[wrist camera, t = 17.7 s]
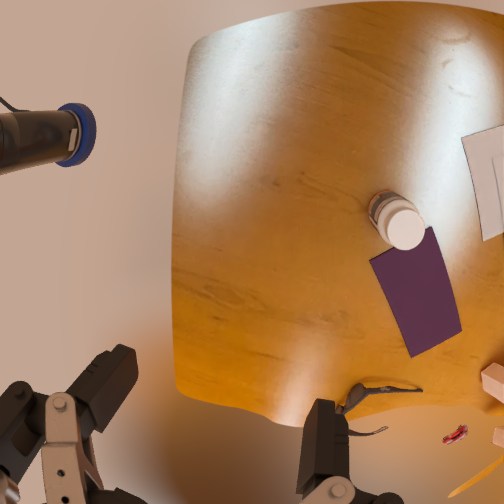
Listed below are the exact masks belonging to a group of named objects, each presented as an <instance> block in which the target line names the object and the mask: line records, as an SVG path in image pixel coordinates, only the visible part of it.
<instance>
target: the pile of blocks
mask: <svg viewBox="0 0 504 504" xmlns="http://www.w3.org/2000/svg"><path fill="white" fill-rule="evenodd" d="M481 375H482V383H483V390H484V391H486V392H487V393H489V394H490V395H492V396H493V397H495V398H496V399H498V400H499V401H501V402H502V403H504V367H503V366H501V365H499V364H497V363H495V362H494V363H492V364H491V365H490V366H488V367H487V368H486V369H485V370H483V371H482V372H481ZM492 443H493V444H495V445H498V446H500V447H503V448H504V426H501V427H495V430H494V435H493V439H492Z"/></svg>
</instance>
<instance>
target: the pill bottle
mask: <svg viewBox="0 0 504 504" xmlns="http://www.w3.org/2000/svg"><path fill="white" fill-rule="evenodd" d="M368 215H369V219H370V221H371V223H372V224H373V226H374V227H375V229H376V230H377V231H378V233H379V235H380V236H381V238H382V239H383V240H384V241H385V242H387V243H388V244H391V245H393V246H394V247H396V248H397V249H400V250H410V249H412V248H414V247H416V246H417V245H418V244H419V243H420V242H421V241H422V239H423V237H424V233H425V224H424V221H423V218H422V217H421V216H420V214H419V211H418V209H417V208H416V207H415V205H414V204H412V203H411V202H410V201H408V200H406V199H405V198H403V197H402V196H400V195H398V194H396V193H394V192H391V191H384V192H380V193H378V194H377V195H375V196H374V197H373V199H372V200H371V202H370V204H369V208H368Z"/></svg>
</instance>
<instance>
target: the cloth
mask: <svg viewBox="0 0 504 504" xmlns="http://www.w3.org/2000/svg"><path fill="white" fill-rule="evenodd" d="M369 261H370V263H371V265H372V267H373V270H374V272H375V274H376V276H377V278H378V280H379V282H380V284H381V287H382V289H383V291H384V293H385V296H386V298H387V300H388V302H389V305H390V307H391V309H392V312H393V314H394V316H395V319H396V321H397V323H398V326H399V328H400V331H401V333H402V336H403V338H404V341H405V343H406V346H407V348H408V351H409V354H410V356H411V358H412V357H414V356H416V355H418V354H420V353H422V352H424V351H426V350H428V349H430V348H432V347H434V346H436V345H438V344H440V343H442V342H444V341H445V340H447V339H449V338H451V337H453V336H454V335H456V334H458V333H460V332H461V331H462V329H461V324H460V319H459V315H458V311H457V306H456V302H455V298H454V295H453V291H452V287H451V284H450V280H449V277H448V273H447V270H446V267H445V263H444V260H443V257H442V254H441V251H440V248H439V245H438V242H437V239H436V237H435V234H434V231H433V229H432V227H429V228H427V229H426V230H425V233H424V237H423V239H422V241H421V242H420V243H419V244H418V245H417V246H416V247H414V248H412V249H410V250H400V249H397V248H396V247H393V248H392V249H390V250H388V251H386V252H384V253H382V254H380V255H379V256H377V257H375V258H373V259H371V260H369Z"/></svg>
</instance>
